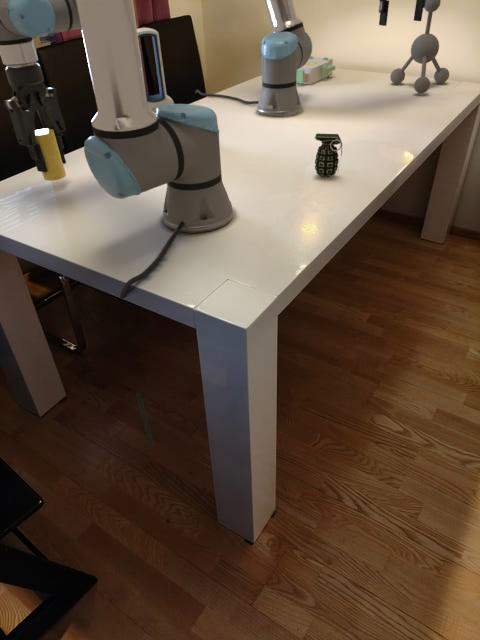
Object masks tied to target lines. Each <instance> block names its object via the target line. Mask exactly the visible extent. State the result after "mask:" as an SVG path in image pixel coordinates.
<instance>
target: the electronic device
mask: <svg viewBox="0 0 480 640" xmlns="http://www.w3.org/2000/svg"><path fill="white" fill-rule="evenodd" d="M137 33H138V40H139V41H140V38H142V37H147V36H149V37H151V39H152V46H153V54H154V61H155V69H156V76H157V83H158V89H159V93H158V94H154V95H148V90H147V84H146V78H145V71H144V70H145V69H144V65H143V64H144V63H142V69H143V76H144V83H145V90H146V97H147V104H148V107H149V108H150V109H151V110H153V111H154V112H155V113H156V112H157V108H158V107H160V106H163V105H169V104H175V102H174V100H173V98H172V97H171V96H169V95H168V93H167V87H166V80H165V79H166V78H165V72H164V63H163V57H162V56H163V55H162V49H161V42H160V35H159V34H160V33H159V31H157V30H156V29H154V28H150V27H140V28H137ZM139 47H140V48H141V45H140V43H139ZM140 54H141V55H142V51H141V50H140ZM141 61H142V62H143V58H142V56H141Z"/></svg>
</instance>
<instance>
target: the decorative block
mask: <svg viewBox="0 0 480 640" xmlns="http://www.w3.org/2000/svg"><path fill="white" fill-rule="evenodd" d="M333 61H334V59H333V58H328V57H313V56H312V55H311V56H310V58H309V60H308V61H307V62H306V64H305V65H304V66H303V67H301V68H299V69H297V79H296V84H304V85H312V84H315V83H317V82H319V81H321V80H324V79H326V78H328V77H330V75H332V74H333V71H336V65H333Z"/></svg>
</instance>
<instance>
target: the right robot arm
mask: <svg viewBox="0 0 480 640" xmlns="http://www.w3.org/2000/svg"><path fill="white" fill-rule="evenodd" d="M264 2H265V5H266V6H265V7H266V9H267V12H268V16H269V21H270V24H271V26H272V27H271V30H270V33H269V34H267V35H265V36H264V37H263V38H262V40H261V48H260V53H261V55H260V56H261V82H262V83H261V91H260V95H259V99H258V100H249V101H248V100H244V99H241V98H239V97H237V96H232V95H225V94H220V93H219V94H217V93H205V92H202V91H201V90H199V89H196V90H195V92H194V94H195V95H196V94H199V95H200V96H203V97H208V98H209V97H211V98H223V99H229V100H234V101H237V102H240V103H242V104H245V105H257V108H256V110H257V114H259V115H260V116H262V117H270V118H285V117H292V116H295V115H298V114H300V113H301V111H302V102H301V99H300V94H299V92H298V88H297V83H296V79H297V69H299V68H301V67H303V66H304V65H305V64H306V62H307V61H308V60H309V58H310V56H312V52H313V42H312V39H311V37H310V35H309V34H308V33H307V32H306V30H305V27H304V22H303V20H301V18H298V17H297V14H296V10H295V6H294V2H293V0H264ZM425 2H426V0H416V1H415V7H414V14H413V22H414V21H415V22H422V18H423V13H424V12H423V11H424V9H425V8H424V7H425ZM389 7H390V0H379V4H378V13H379V19H378V20H379V21H378V26H382V27H386V26H387V24H388V15H389Z"/></svg>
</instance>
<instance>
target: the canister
mask: <svg viewBox="0 0 480 640" xmlns="http://www.w3.org/2000/svg"><path fill="white" fill-rule="evenodd" d="M35 135H36V144H38V145H40V148H41V151H42V154H43V157H44V161H45V164H46V167H47V172H41V173H42V174H41V175H42V177H43V179H44V180H45V181H49V182H50V181H53V182H54V181H59V180H61V179H63V178H66V176H67V173H66V169H65V166H64V165H65V164H63V162H62V158H61V155H60V151H59V148H58V144H57V141H56V137H55V134H54V130H53V129H48V128H40V129H35Z"/></svg>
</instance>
